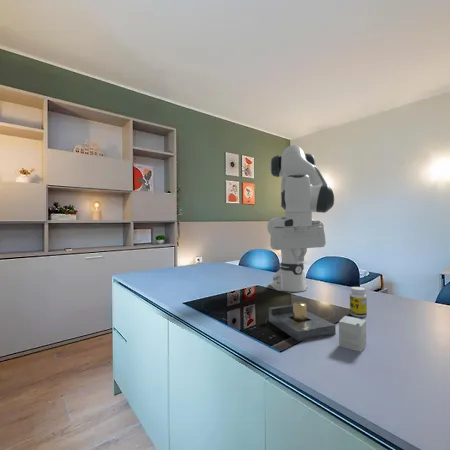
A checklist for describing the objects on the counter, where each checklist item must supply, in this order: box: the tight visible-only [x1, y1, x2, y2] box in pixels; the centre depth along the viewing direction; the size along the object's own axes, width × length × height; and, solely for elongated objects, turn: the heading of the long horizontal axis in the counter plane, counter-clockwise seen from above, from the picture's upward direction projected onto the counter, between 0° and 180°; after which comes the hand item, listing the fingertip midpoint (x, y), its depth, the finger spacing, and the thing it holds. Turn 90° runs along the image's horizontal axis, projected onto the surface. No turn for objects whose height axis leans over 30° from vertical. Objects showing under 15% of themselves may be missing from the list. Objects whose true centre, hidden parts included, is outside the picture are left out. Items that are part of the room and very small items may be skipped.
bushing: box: [292, 301, 308, 322], centre depth 92 cm, size 4×4×8 cm
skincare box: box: [338, 315, 367, 353], centre depth 78 cm, size 6×6×7 cm
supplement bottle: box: [349, 286, 368, 318], centre depth 103 cm, size 6×6×10 cm
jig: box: [268, 303, 337, 342], centre depth 92 cm, size 18×14×5 cm
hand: (298, 261), depth 92 cm, fingers closed
